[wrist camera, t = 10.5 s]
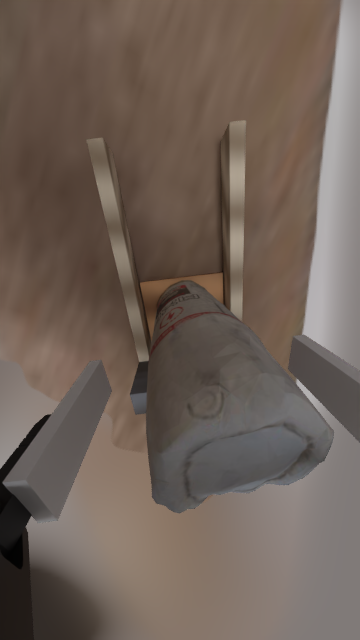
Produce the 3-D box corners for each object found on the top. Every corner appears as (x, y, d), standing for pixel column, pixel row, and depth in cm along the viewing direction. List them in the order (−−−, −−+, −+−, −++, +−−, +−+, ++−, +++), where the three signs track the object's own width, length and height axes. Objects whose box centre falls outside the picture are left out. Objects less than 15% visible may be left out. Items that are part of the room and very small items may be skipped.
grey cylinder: (210, 271, 23) (386, 361, 4) (220, 327, 26) (350, 523, 7) (148, 288, 23) (56, 438, 5) (166, 341, 26) (153, 561, 8)
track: (99, 156, 18) (39, 77, 10) (234, 140, 18) (287, 47, 10) (146, 366, 28) (135, 414, 20) (234, 355, 28) (260, 398, 20)
